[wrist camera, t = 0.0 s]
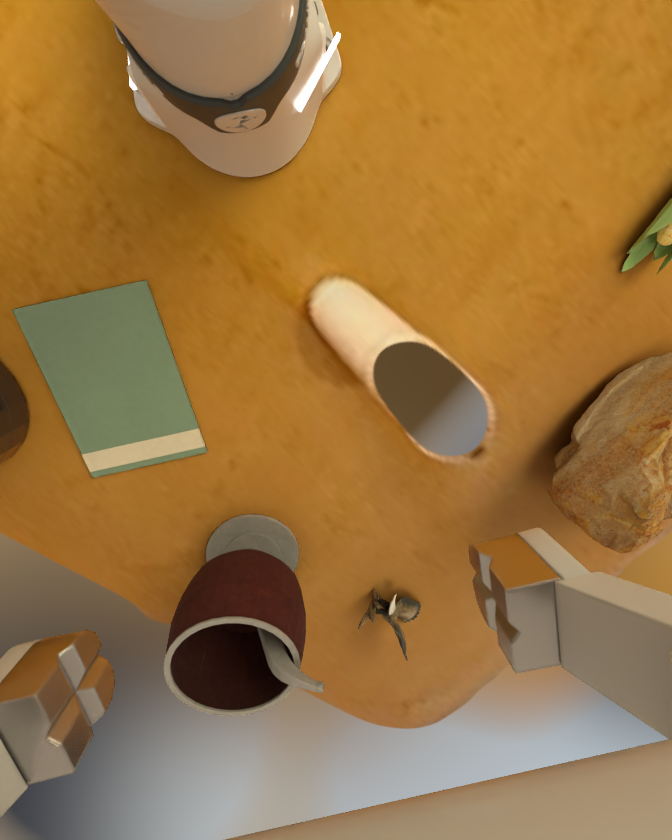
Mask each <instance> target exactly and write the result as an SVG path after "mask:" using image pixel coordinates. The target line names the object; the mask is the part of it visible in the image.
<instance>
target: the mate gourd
mask: <svg viewBox="0 0 672 840" xmlns="http://www.w3.org/2000/svg"><path fill="white" fill-rule="evenodd" d="M298 559H299V548H298V542H297V540H296V538H295V536H294V534H293V533H292V532H291V530H290V529H289V528H288V527H287V526H286V525H284V524H283V523H282V522H280V521H278V520H276V519H274V518H271V517H269V516H265V515H259V514H246V515H240V516H237V517H234V518H231V519H229V520H227V521H225V522H224V523H222V524H221V525H220V526H219V527H217V528H216V530H215V531H214V532H213V533H212V535H211V537H210V539H209V541H208V544H207V549H206V561H207V563H206V564H205V565H204V566H202V568H201V569H200V570H199V571H198V573H197V574H196V575H195V577H194V578H193V579H192V580H191V582H190V583H189V585H188V587H187V588H186V590H185V592H184V594H183V595H182V598H181V600H180V602H179V604H178V607H177V609H176V612H175V615H174V617H173V620H172V623H171V628H170V633H169V639H168V644H167V650H166V656H165V661H164V676H165V679H166V682H167V684H168V686H169V687H170V689H171V690H172V692H173V693H174V694H175V695H176V696H177V697H178V698H179V699H180V700H181V701H182V702H184V703H186V704H187V705H189V706H190V707H193V708H195V709H197V710H199V711H202V712H205V713H210V714H214V715H221V716H242V715H248V714H254V713H257V712H260V711H263V710H266V709H268V708H270V707H272V706H274V705H276V704H277V703H278V702H280V701H281V700H283V699H284V698H285V697H286V696H287V695H288V694H289V693H290V692H291V690H292V689H293V688H294V687H298V688H301V689H305V690H308V691H316V692H318V693H323V689H324V682H321V681H315V680H313V679H311V678H310V677H308V676H307V675H305V674H304V673H303V672H302V671H300V665H301V661H302V657H303V651H304V644H305V634H306V614H305V608H304V603H303V598H302V592H301V589H300V586H299V583H298V580H297V578H296V576H295V574H294V573H293V572H294V571H295V569H296V567H297V563H298Z"/></svg>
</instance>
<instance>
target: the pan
mask: <svg viewBox="0 0 672 840" xmlns="http://www.w3.org/2000/svg"><path fill="white" fill-rule="evenodd" d="M27 426H28V414H27V408H26V402H25V399H24V397H23V395H22V393H21V391H20V389H19V387H18V385H17V383H16V381H15V379H14V378H13V377H12V376H11V375H10V373H9V372H8V371H7V370H6V369H5V368H4V367H3V366H2V365H1V364H0V464H1V463H2V462H4V461H5V460H7V459H8V458H10V457H12V456H13V455H14V454H15V452H16V451H17V450H18V448H19V447H20V445H21V444H22V443H23V441H24V439H25V435H26V430H27Z"/></svg>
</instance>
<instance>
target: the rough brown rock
mask: <svg viewBox="0 0 672 840" xmlns="http://www.w3.org/2000/svg"><path fill="white" fill-rule="evenodd" d="M571 439H572V440H571V442H570V443H569V444H568V445H567V446H565V447H563V448H562V449H561V450H560V451H559V452H558V453H557V455H556V456H555V458H554V462H555V466H556V470H557V471H556V472H555V473H554V475H553V481H552V486H551V487H550V489H549V491H548V492H549V495H550V497H551V499H552V500H553V502H554V503H555V504H556V505H557V506H558V508H559V509H560V510H561V511H562V512H563V514H564V515H565V516H566V517H567V518H568V519H570V520H571V521H573V522H574V523H575V524H578V525H579V526H580V527H581V529H582V530H583V531H584V532H585V533H586V534H587V535H589V536H590V537H591V538H592V539H593V540H595V541H596V542H598V543H599V544H601V545H603V546H605V547H608V548H610V549H612V550H615V551H617V552H619V553H628V552H632V551H635V550H637V549H639V548H640V547H641V546H642V545H643V544H645V543H646V542H648V541H649V540H650V539H652V538H654V537H655V536H657V535H658V534H659V533H660V532H662V527H663V521H664V520H665V519H668V518H672V352H669V353H666V354H663V355H660V356H654V357H649V358H647V359H645V360H642V361H641V362H639V363H637V364H635V365H633V366H631V367H629V368H627V369H626V370H624V371H622V372H621V373H619V374H617V376H616V377H615V378H614V379H613V380H612V381H611V382H609V383H608V384H607V385H606V387H605V388H604V390H603V391H602V392H601V393H600V395H599V397H598V398H597V399H596V400H595V401H594V402H593V403H592V404H591V405H590V406H589V407H588V408H587V410H586V412H585V413H584V414H582V416H581V418H580V419H579V420H578V421H577V422H576V424H575V425H574V427H573V431H572V434H571Z"/></svg>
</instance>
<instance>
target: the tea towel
mask: <svg viewBox="0 0 672 840" xmlns="http://www.w3.org/2000/svg"><path fill="white" fill-rule="evenodd" d="M12 311H13V313H14V315H15V317H16V319H17V321H18V323H19V325H20V327H21V329H22V332H23V334H24V336H25V338H26V340H27V342H28V344H29V346H30V348H31V350H32V352H33V354H34V356H35V359H36V361H37V363H38V365H39V367H40V369H41V371H42V373H43V375H44V377H45V379H46V381H47V383H48V385H49V388H50V390H51V392H52V394H53V396H54V398H55V400H56V402H57V404H58V406H59V408H60V410H61V412H62V415H63V417H64V419H65V421H66V423H67V425H68V427H69V429H70V431H71V433H72V435H73V437H74V439H75V442H76V444H77V446H78V448H79V450H80V452H81V454H82V456H83V459H84V461H85V463H86V465H87V467H88V469H89V471H90V473H91V475H92V477H93V478H95V477H99V476H104V475H108V474H113V473H117V472H122V471H126V470H130V469H135V468H139V467H144V466H148V465H153V464H157V463H162V462H166V461H171V460H175V459H180V458H184V457H189V456H193V455H198V454H202V453H207V448H206V445H205V442H204V440H203V437H202V434H201V431H200V428H199V425H198V423H197V420H196V417H195V414H194V411H193V409H192V406H191V403H190V400H189V397H188V395H187V392H186V389H185V386H184V383H183V380H182V378H181V375H180V372H179V369H178V366H177V364H176V361H175V358H174V355H173V352H172V350H171V347H170V344H169V341H168V338H167V336H166V333H165V330H164V327H163V324H162V321H161V319H160V316H159V313H158V310H157V307H156V305H155V302H154V299H153V296H152V293H151V291H150V288H149V285H148V282H147V280H144V281H139V282H135V283H130V284H125V285H121V286H116V287H112V288H107V289H103V290H98V291H94V292H89V293H85V294H80V295H76V296H71V297H67V298H62V299H58V300H53V301H49V302H44V303H40V304H35V305H31V306H26V307H22V308H17V309H13V310H12Z"/></svg>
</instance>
